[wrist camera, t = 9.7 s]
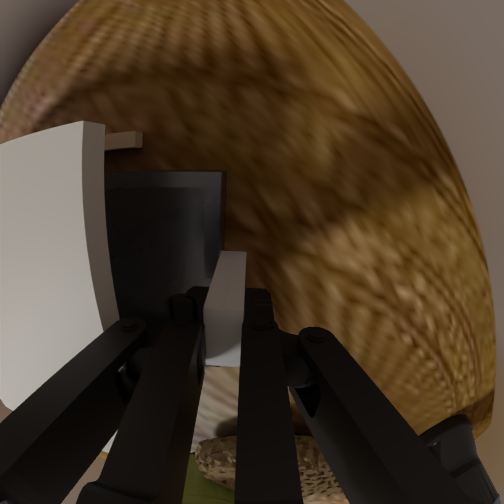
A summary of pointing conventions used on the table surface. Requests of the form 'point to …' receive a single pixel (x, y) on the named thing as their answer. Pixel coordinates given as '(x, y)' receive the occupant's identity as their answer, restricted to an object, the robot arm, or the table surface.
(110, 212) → the tray
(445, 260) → the table surface
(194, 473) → the plant pot
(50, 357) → the white box
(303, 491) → the sponge
